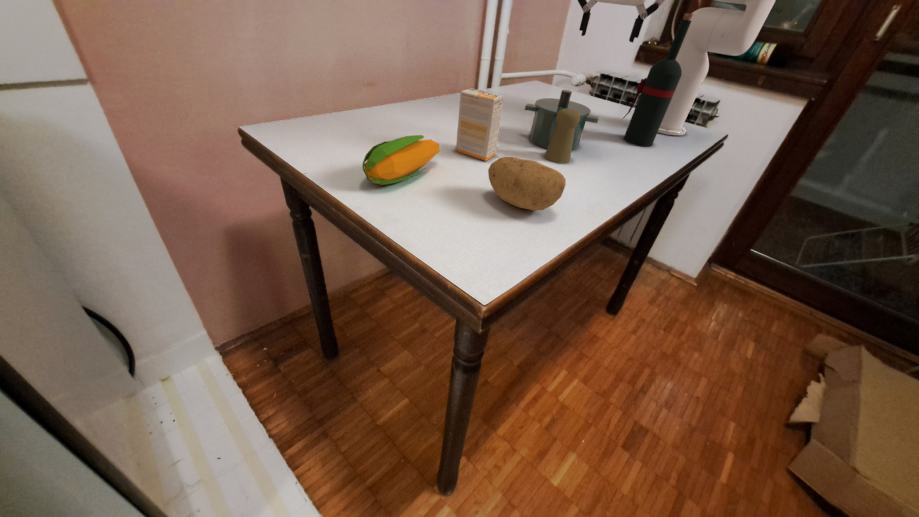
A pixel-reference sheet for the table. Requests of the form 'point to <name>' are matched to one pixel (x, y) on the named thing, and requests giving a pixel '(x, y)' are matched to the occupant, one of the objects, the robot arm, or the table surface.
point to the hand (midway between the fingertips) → (606, 38)
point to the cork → (563, 136)
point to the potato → (526, 183)
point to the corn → (398, 159)
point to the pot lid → (562, 104)
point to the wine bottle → (656, 93)
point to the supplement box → (478, 123)
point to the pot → (552, 127)
